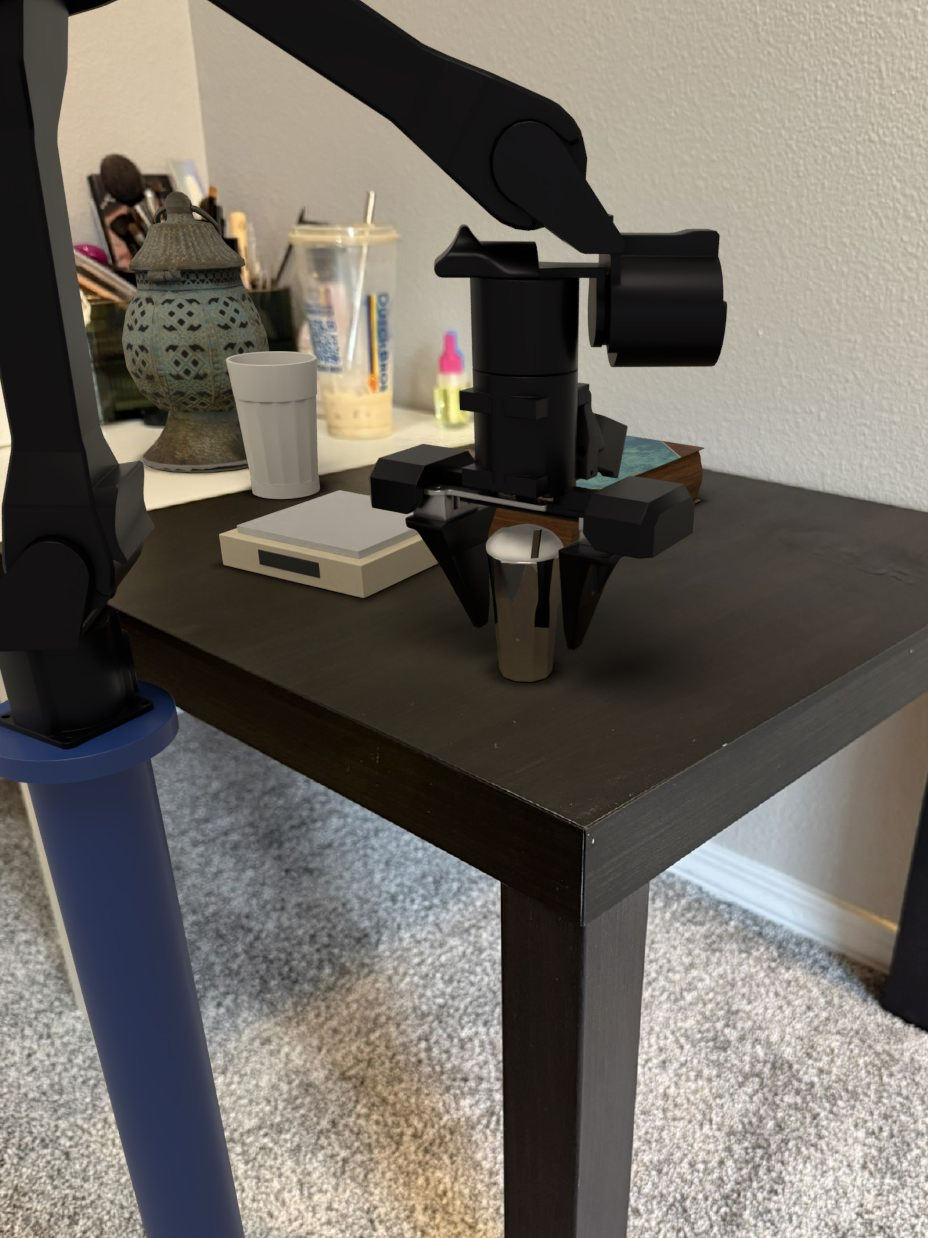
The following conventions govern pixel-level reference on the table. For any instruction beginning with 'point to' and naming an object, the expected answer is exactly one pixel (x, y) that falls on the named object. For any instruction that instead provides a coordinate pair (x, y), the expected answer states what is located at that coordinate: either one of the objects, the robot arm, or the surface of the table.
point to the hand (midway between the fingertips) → (526, 636)
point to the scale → (330, 545)
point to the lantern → (190, 338)
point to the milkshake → (524, 599)
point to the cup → (278, 420)
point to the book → (636, 461)
